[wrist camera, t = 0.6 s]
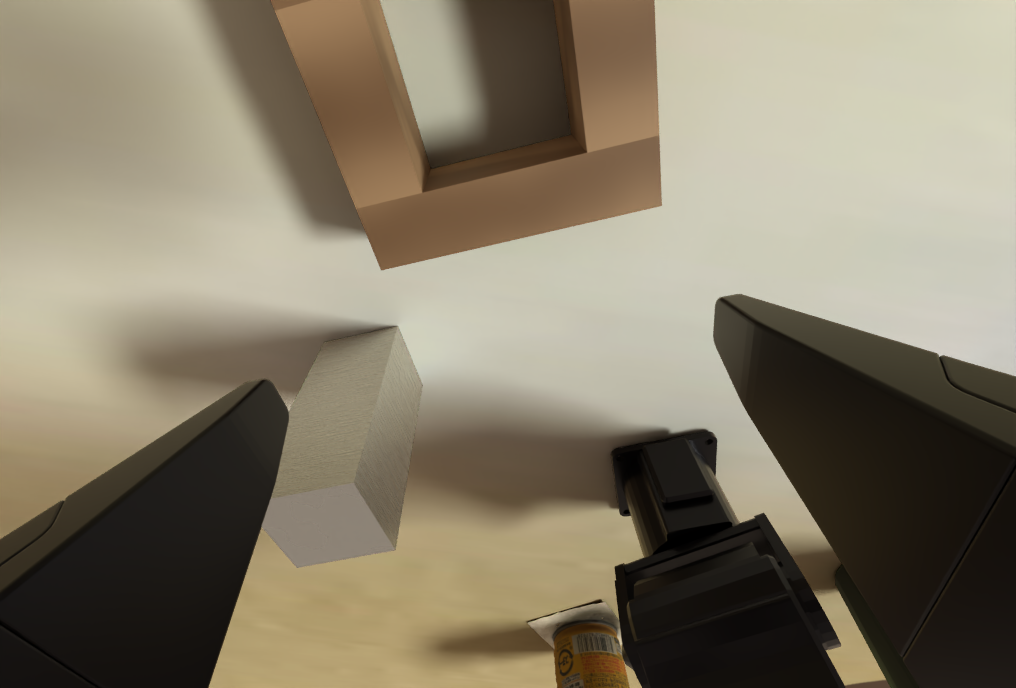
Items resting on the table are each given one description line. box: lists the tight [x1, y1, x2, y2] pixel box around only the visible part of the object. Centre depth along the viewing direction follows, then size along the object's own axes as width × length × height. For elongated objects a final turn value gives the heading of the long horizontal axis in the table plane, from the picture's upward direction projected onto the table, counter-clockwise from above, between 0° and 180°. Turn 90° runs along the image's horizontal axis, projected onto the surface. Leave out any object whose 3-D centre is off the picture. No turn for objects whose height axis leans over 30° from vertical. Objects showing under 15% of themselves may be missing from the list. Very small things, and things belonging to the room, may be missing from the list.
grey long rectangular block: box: [262, 326, 423, 568], centre depth 21 cm, size 4×4×10 cm
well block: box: [270, 0, 662, 270], centre depth 16 cm, size 11×11×4 cm
